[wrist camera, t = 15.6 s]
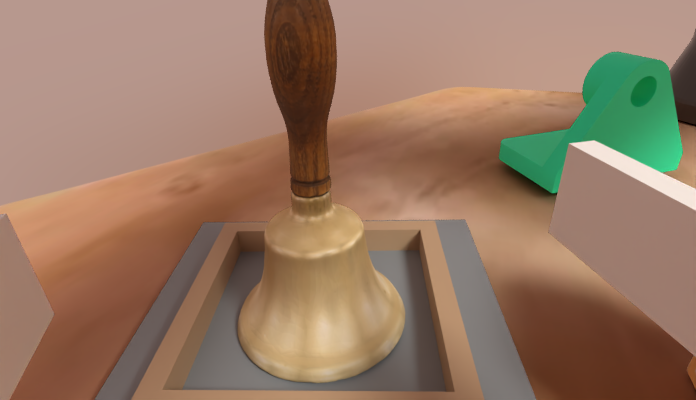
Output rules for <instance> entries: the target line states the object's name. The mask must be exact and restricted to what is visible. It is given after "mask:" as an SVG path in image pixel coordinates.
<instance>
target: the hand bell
mask: <svg viewBox="0 0 696 400" xmlns="http://www.w3.org/2000/svg"><path fill="white" fill-rule="evenodd" d="M264 36H265V50H266V60H267V66H268V71H269V76H270V80H271V84H272V88H273V91H274V95H275V97H276V100H277V103H278V105H279V108H280V110H281V113H282V115H283V118H284V121H285V124H286V127H287V132H288V139H289V152H290V174H291V176H292V178H291V190H292V192H291V199H292V206H291V207H288V208H286V209H284V210H282V211H280V212H279V213H277V214H276V215H275V216H274V217H273V218H272V219H271V220H270V221H269V223H268V225H267V226H266V229H265V234H264V242H265V256H264V270H263V275H262V279H261V281H260V282H259V283H258V284H257V285H256V286H255V287H254V288H253V290H252V291H251V292H250V294H249V295H248V296H247V298H246V300H245V302H244V304H243V306H242V309H241V312H240V315H239V319H238V337H239V341H240V344H241V346H242V348H243V350H244V351H245V353H246V354H247V356H248V357H249V358H250V359H251V360H252V362H253V363H255V364H256V365H257V366H258V367H259V368H261V369H262V370H264V371H266V372H268V373H269V374H271V375H273V376H276V377H278V378H282V379H285V380H290V381H294V382H311V383H325V382H332V381H337V380H341V379H346V378H350V377H353V376H356V375H358V374H360V373H362V372H364V371H366V370H368V369H369V368H371V367H373V366H374V365H376V364H377V363H379V362H380V361H381V360H383V359H384V358H385V357H386V356H387V355H388V354H389V353H390V352H391V351H392V350H393V349H394V347H395V345H396V344H397V343H398V341H399V339H400V337H401V335H402V332H403V329H404V324H405V308H404V304H403V301H402V299H401V297H400V295H399V293H398V291H397V290H396V288H395V287H394V286H393V284H392V283H391V282H390V281H389V280H388V279H387V278H386V277H385V276H384V275H383V274H381V273H380V272H379V271H377V270H375V268H374V267H373V264H372V262H371V259H370V257H369V253H368V249H367V244H366V239H365V232H364V226H363V223H362V220H361V219H360V217H359V216H358V215H357V214H356V213H355V212H354V211H353V210H351V209H350V208H348V207H346V206H343V205H340V204H337V203H332V201H331V193H330V188H331V179H330V176H329V160H328V150H327V120H328V115H329V111H330V107H331V103H332V99H333V94H334V89H335V82H336V68H337V50H336V33H335V26H334V21H333V17H332V12H331V9H330V5H329V2H328V0H267V7H266V15H265V30H264Z"/></svg>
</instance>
